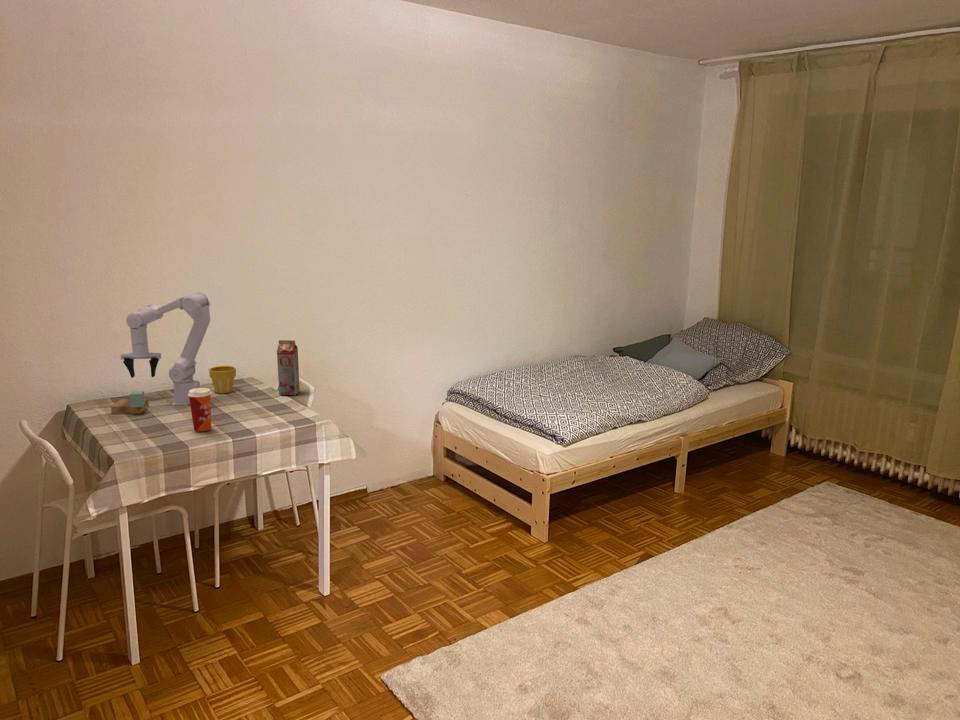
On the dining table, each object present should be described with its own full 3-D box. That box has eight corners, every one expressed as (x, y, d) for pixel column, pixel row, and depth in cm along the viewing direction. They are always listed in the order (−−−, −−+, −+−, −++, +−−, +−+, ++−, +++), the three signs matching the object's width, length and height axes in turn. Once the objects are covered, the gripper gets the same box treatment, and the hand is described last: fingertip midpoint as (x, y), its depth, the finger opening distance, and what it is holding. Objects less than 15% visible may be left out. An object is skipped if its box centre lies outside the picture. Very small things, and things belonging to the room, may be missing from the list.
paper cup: (207, 433, 249) (204, 393, 246) (186, 431, 250) (183, 392, 247) (218, 426, 256) (215, 387, 253) (198, 424, 258) (195, 386, 254)
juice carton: (295, 394, 296) (292, 342, 291) (279, 394, 296) (276, 341, 291) (299, 390, 303) (297, 338, 298) (283, 390, 303) (281, 338, 298)
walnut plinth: (148, 406, 279) (148, 398, 278) (140, 413, 269) (139, 406, 268) (121, 406, 278) (120, 399, 277) (111, 414, 268) (111, 406, 267)
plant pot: (240, 387, 306) (238, 365, 303) (233, 394, 295) (231, 371, 293) (215, 388, 305) (213, 365, 303) (207, 394, 295) (205, 371, 293)
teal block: (145, 403, 271) (143, 390, 270) (142, 406, 268) (141, 393, 266) (133, 404, 271) (132, 391, 269) (130, 407, 267) (129, 394, 266)
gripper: (162, 340, 287) (165, 373, 290) (123, 341, 285) (127, 374, 288) (156, 344, 280) (160, 378, 283) (117, 344, 278) (120, 379, 281)
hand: (143, 376), depth 285 cm, fingers open, 7 cm apart
